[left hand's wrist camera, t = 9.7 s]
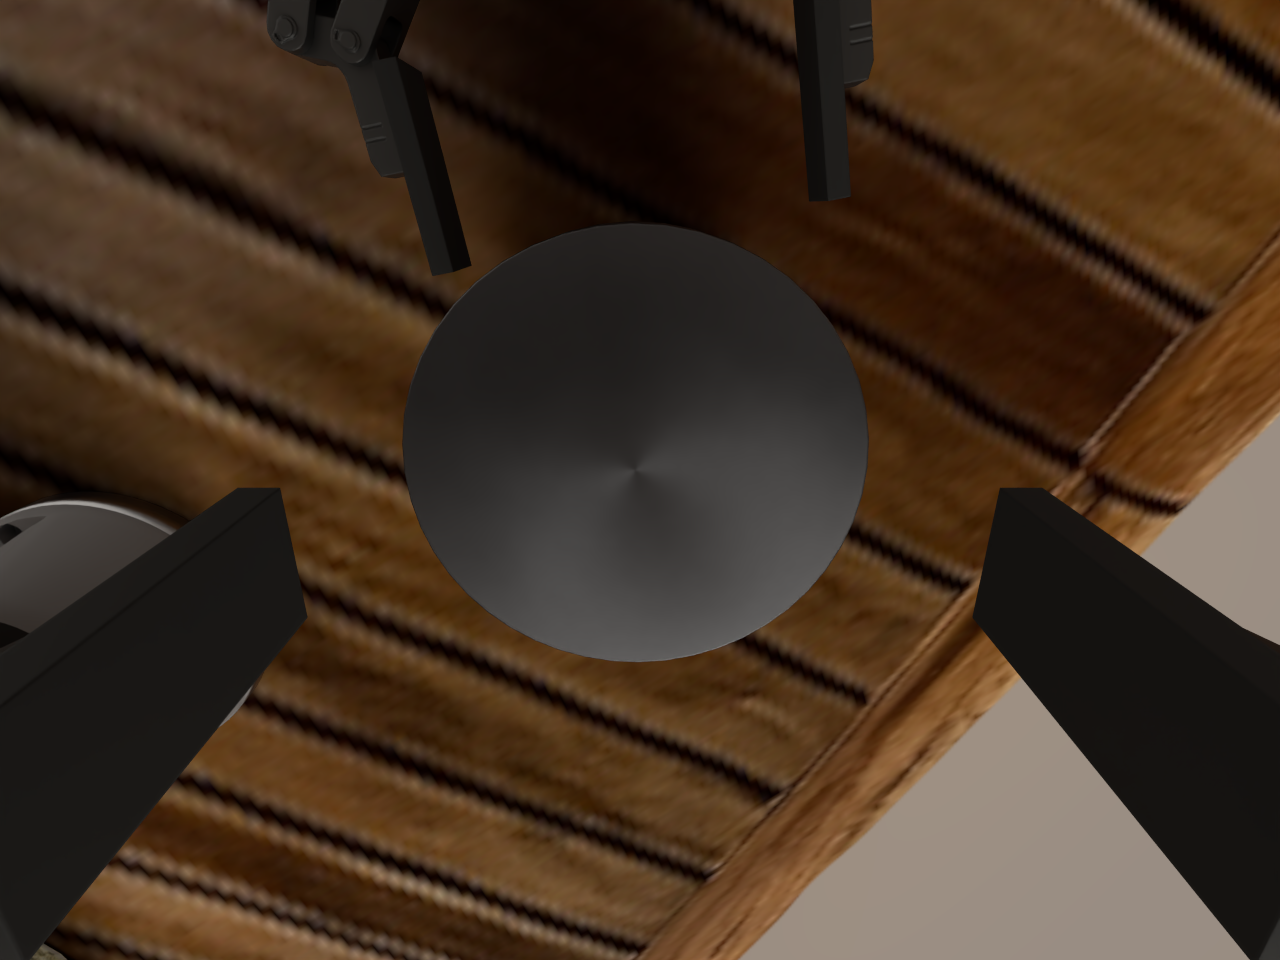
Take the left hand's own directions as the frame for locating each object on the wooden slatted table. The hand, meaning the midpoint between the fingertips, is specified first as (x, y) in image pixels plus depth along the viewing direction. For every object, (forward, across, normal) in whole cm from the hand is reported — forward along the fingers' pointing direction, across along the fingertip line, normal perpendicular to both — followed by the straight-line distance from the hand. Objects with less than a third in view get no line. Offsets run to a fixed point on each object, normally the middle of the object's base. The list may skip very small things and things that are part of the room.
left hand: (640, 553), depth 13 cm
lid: (+4, 0, 0) cm, 4 cm away
